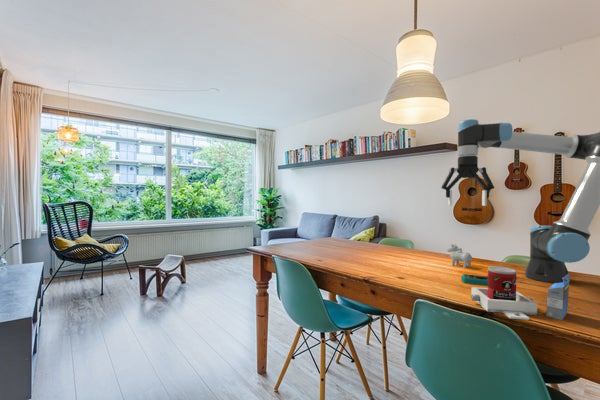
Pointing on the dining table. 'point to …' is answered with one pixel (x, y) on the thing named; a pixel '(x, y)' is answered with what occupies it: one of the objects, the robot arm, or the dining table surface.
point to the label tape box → (558, 299)
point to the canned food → (502, 283)
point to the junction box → (505, 304)
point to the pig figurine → (459, 256)
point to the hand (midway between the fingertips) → (466, 205)
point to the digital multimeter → (474, 279)
